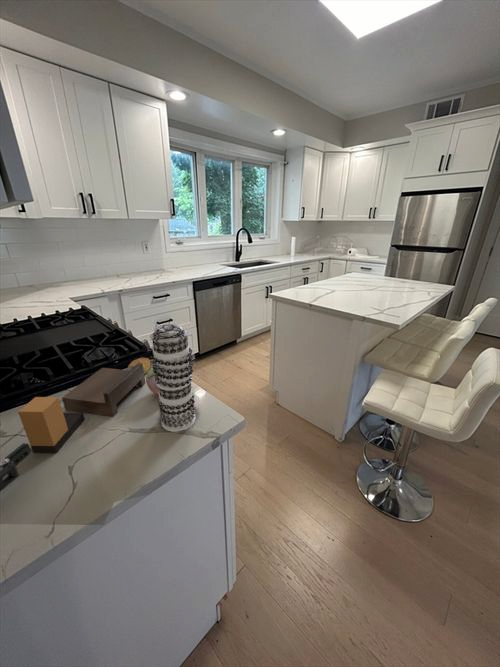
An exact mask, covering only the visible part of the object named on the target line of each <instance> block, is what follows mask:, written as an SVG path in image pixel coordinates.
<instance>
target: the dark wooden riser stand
mask: <svg viewBox="0 0 500 667" xmlns="http://www.w3.org/2000/svg"><path fill="white" fill-rule="evenodd" d="M145 385H146V375H145V374H144V370H143V364H142V363H138V364H137V365H135V366H134V367H133V368H132V369H131V370H130V371H129V370H128V369H120V368H119V369H118V368H111V367H110V368H109V367H101V368H100V369H98V370H96V372H94V373H93V374H92V375H90V376H89V377H88V378H86V379H85V380H84V381H83V382H81V383H79V384H78V385H77V386H75V387H74V388H73V389H72V390H70V391H69V392H68V393H66V394H65V395H64V396H62V397H61V401H62V403H63V407H64V410H65V411H68V412H74V413H83V414H90V415H97V416H104V417H111V418H114V416H116V415H117V414H118V413H119V410H118V406H117V405H118V403H119V402H120V401H122V399H123V398H125V396H126V395H127V394H128V393H129V392H130V391H131V390H132V389H133V388H134V387H140V388H141V387H142V388H143V387H144V386H145Z"/></svg>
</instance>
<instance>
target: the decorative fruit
mask: <svg viewBox="0 0 500 667" xmlns="http://www.w3.org/2000/svg"><path fill="white" fill-rule="evenodd" d="M153 370H154V369H153V368H152V367H151V368H150V370H149V371H148V372H147V373H146V375H145V384H146V385H147V387H148V389H149V390H150V391H151V392H152V394H155V395H158V396H159V387H157V384H156V381H155V378H156V377H154V374H155V373H154V372H153Z"/></svg>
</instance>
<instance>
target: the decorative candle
mask: <svg viewBox="0 0 500 667" xmlns="http://www.w3.org/2000/svg"><path fill="white" fill-rule="evenodd" d="M188 336H189V332H188V330H186V329H184V328H183V327H182V326H181V325H178V324H164V325H160V326H158V327H156V328H155V329H154V331H153V332H152V333H151V334H150V335H149V338H150V340H151V341H152V346H153V347H152V355H150V358H149V359H151V360H150V364H152V367H151V369H152V368H153V369H154V370H153V372H154V373H155V374H154V377H156V378H155V381H156V384H157V387H159V395H158V400H157V401H158V407H159V408H158V409H159V416H160V423H161V426H162V428H163V429H164V430H166V431H168V432H172V433H175V432H177V433H178V432H183V431H186V430H188V429H189V428H191V427H192V426H193V425H194V423H195V422H196V418H197V417H196V414H197V413H196V411H195V409H196V406H195V402H196V401H195V395H194V392H193V391H194V390H193V387H192V382H193V377H194V376H193V372H194V369H193V366H194V364H193V362H192V361H193V359H194V357H193V355H192V354H193V349H192V348H191V347H190V345H189V341H188V340H189V339H188Z"/></svg>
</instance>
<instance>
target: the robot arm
mask: <svg viewBox="0 0 500 667" xmlns="http://www.w3.org/2000/svg"><path fill="white" fill-rule="evenodd" d="M31 450H32V448H31V446H30V443H25V442H24V443H22V444H20V445H19V446H18V447H16V448H15V449H14V450H13V451H12V452H10V453H9V454H7V456H5V458H4V459H1V460H0V492H1V491H3V490H4V489H5V488H7V487H8V486H9V485H10V484H11V483H12V482H14V481H15V480H16V479H17V478H18V477H19V476H20V473H19V471H18V468H17V466H18V465H19V464H20V463H21V462H23V461H24V460H25V459H26V458H28V456H29V455H30V454H31ZM4 477H5V478H4Z"/></svg>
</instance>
